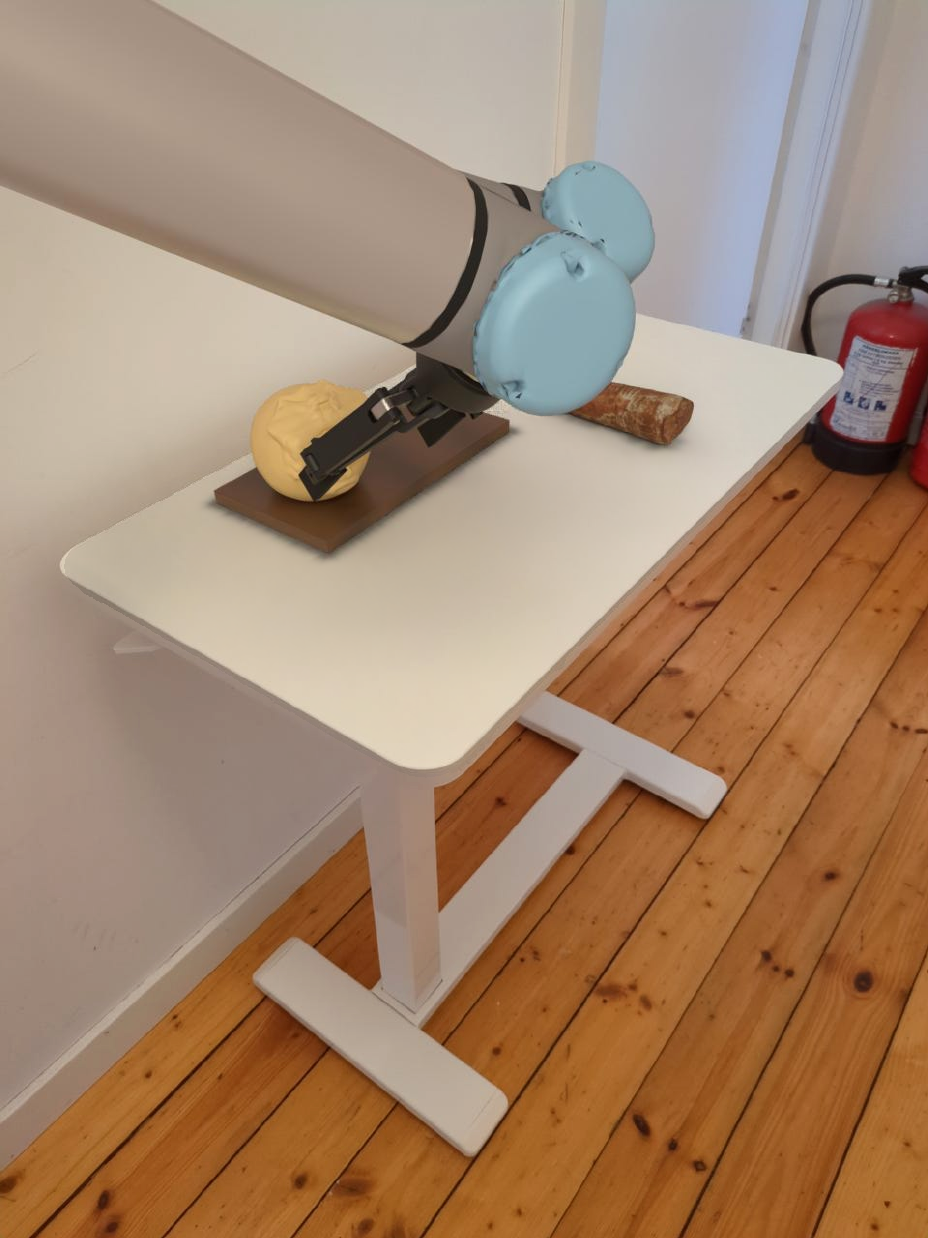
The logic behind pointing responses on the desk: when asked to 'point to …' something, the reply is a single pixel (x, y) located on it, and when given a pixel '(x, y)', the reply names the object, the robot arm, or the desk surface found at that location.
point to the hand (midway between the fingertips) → (369, 459)
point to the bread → (639, 411)
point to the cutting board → (363, 484)
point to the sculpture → (301, 434)
